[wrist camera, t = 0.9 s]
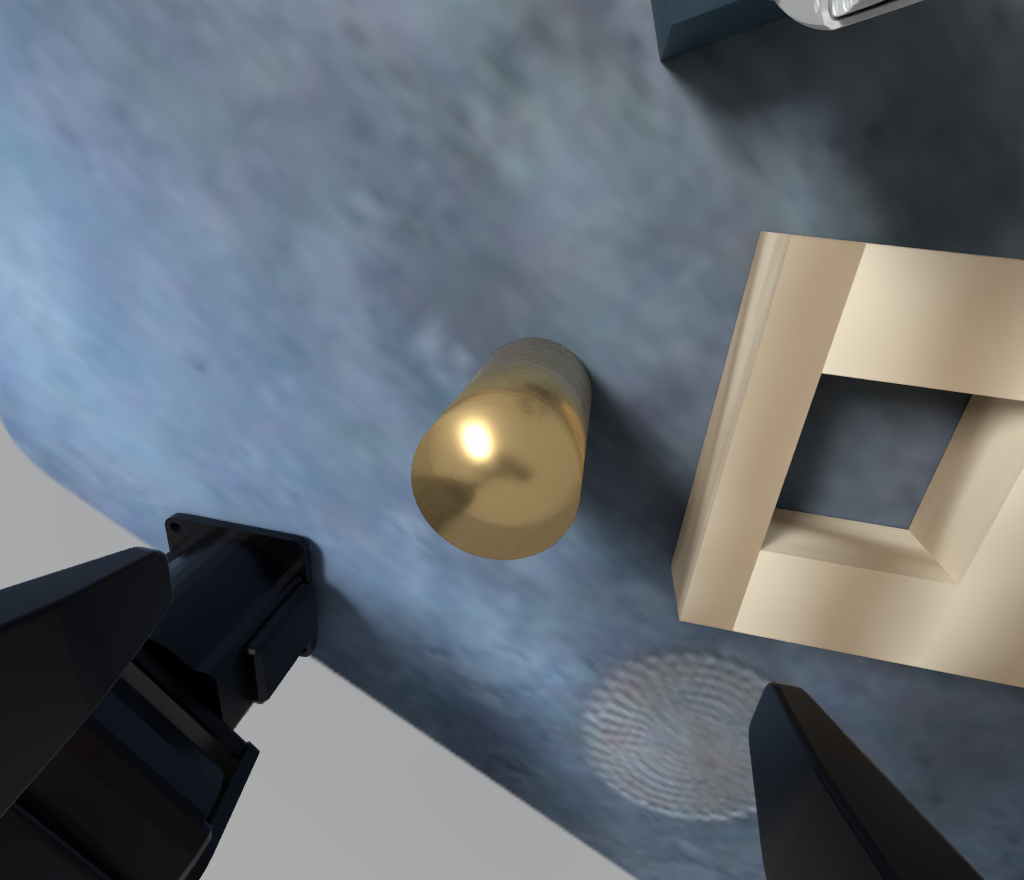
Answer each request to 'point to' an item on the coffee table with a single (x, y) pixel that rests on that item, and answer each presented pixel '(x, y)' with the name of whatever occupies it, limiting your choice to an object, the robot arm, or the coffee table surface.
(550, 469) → the brass cylinder plug
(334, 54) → the coffee table surface
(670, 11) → the watch
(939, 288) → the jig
